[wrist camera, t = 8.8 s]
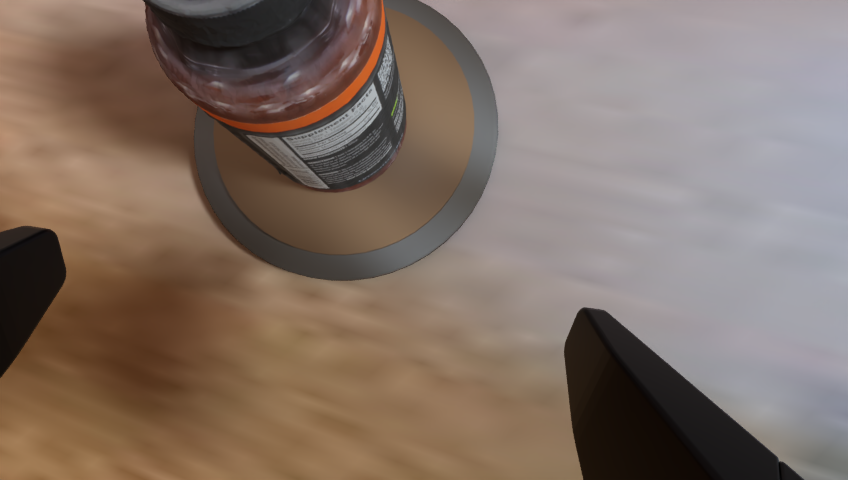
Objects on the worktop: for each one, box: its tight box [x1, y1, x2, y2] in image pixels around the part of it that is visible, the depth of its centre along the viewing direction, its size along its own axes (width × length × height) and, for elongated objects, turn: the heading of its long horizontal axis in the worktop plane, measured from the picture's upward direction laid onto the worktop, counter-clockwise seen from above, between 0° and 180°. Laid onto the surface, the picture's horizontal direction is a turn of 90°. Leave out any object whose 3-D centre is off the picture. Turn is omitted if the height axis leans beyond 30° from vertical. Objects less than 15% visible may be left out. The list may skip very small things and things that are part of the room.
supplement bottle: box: [143, 0, 407, 193], centre depth 15 cm, size 6×6×11 cm
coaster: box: [194, 0, 498, 281], centre depth 21 cm, size 13×13×1 cm
